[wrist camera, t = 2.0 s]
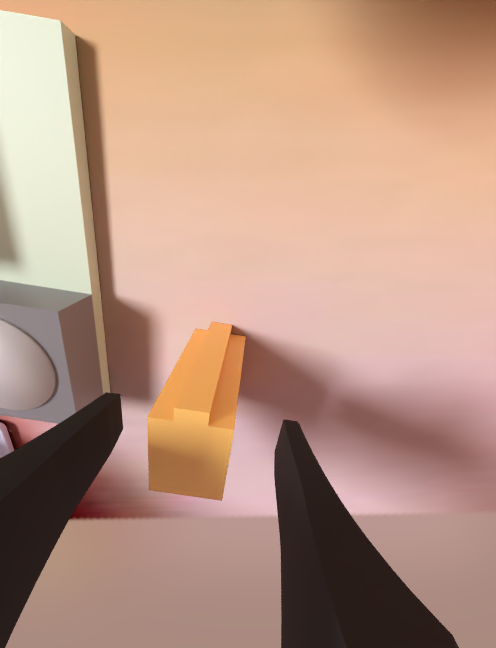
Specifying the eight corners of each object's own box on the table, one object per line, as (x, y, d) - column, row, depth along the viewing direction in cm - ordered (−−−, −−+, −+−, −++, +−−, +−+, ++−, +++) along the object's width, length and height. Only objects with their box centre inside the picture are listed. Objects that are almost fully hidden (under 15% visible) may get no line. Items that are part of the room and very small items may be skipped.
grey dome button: (103, 396, 17) (76, 428, 14) (-5, 380, 16) (-51, 409, 14) (91, 294, 14) (55, 312, 11) (-41, 273, 14) (-106, 288, 11)
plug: (236, 391, 17) (221, 502, 11) (191, 384, 17) (149, 492, 10) (247, 327, 15) (236, 417, 9) (196, 319, 15) (146, 403, 8)
